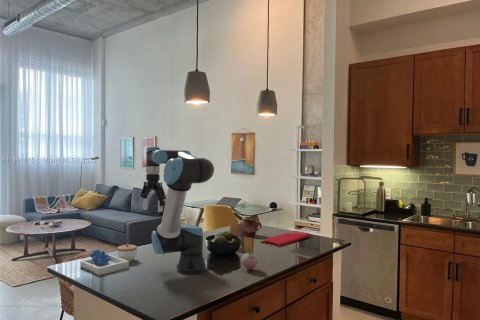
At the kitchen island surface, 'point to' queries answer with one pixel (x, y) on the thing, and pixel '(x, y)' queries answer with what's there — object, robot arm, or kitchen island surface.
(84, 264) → the tray
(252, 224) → the decorative planter
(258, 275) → the kitchen island surface
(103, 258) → the grapes
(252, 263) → the decorative fruit
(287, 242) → the dish drying mat
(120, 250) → the lidded jar
